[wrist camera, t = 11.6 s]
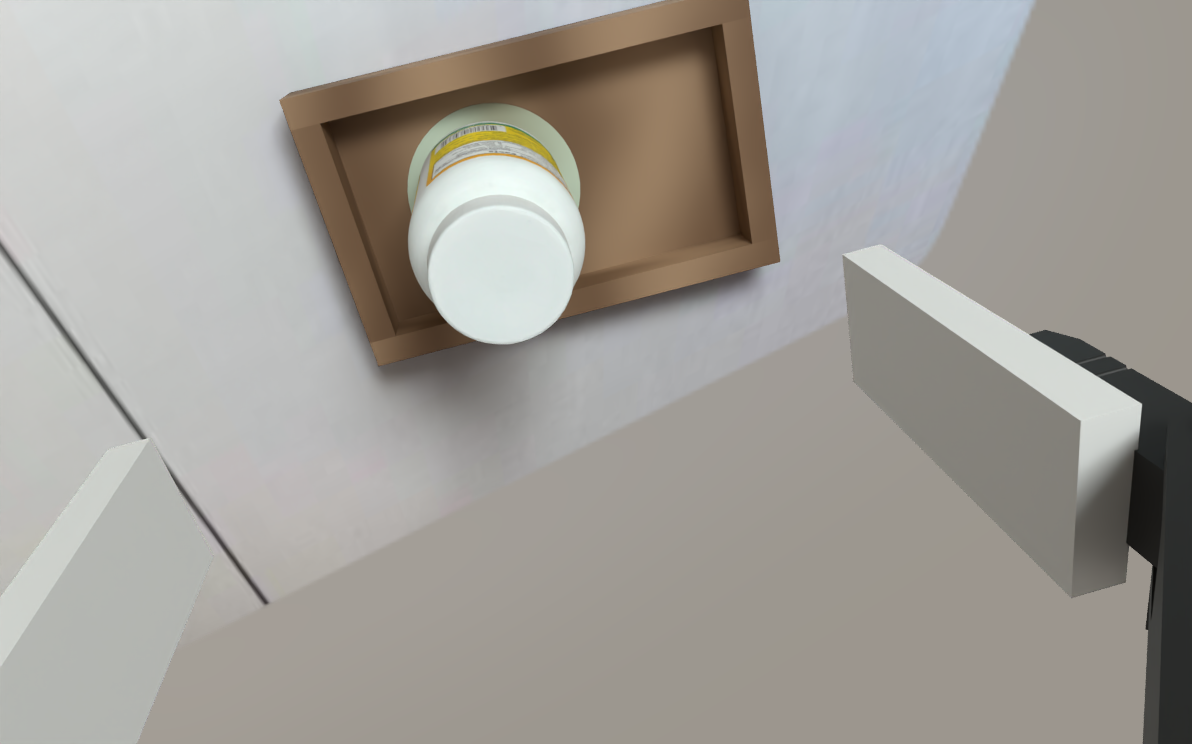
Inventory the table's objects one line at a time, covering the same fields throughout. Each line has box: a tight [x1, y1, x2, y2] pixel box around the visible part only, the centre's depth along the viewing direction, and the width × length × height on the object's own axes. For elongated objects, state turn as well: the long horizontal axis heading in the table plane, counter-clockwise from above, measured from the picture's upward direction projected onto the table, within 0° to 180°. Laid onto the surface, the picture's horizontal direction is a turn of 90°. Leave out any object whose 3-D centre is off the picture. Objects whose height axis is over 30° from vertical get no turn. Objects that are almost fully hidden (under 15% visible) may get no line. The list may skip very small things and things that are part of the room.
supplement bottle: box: [408, 121, 585, 345], centre depth 27 cm, size 5×5×10 cm
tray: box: [279, 0, 780, 366], centre depth 31 cm, size 16×10×2 cm, turn 102°
